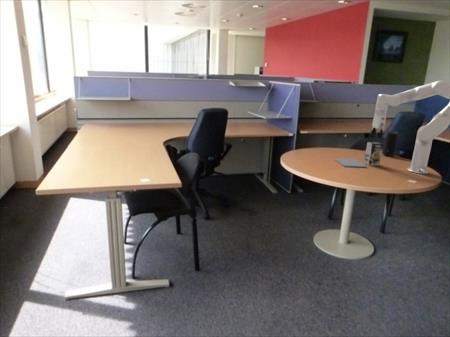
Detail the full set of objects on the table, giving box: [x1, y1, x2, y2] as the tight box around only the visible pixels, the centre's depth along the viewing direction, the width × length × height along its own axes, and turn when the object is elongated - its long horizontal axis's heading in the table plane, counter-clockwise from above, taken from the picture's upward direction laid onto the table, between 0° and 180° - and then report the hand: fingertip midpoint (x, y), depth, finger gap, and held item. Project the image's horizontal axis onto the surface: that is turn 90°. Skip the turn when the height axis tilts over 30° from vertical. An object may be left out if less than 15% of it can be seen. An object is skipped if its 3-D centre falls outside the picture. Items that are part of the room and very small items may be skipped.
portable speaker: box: [382, 130, 399, 158], centre depth 279 cm, size 9×9×20 cm
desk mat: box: [333, 157, 368, 169], centre depth 249 cm, size 20×16×1 cm
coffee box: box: [363, 141, 384, 167], centre depth 248 cm, size 9×6×16 cm
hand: (376, 136), depth 245 cm, fingers open, 9 cm apart
